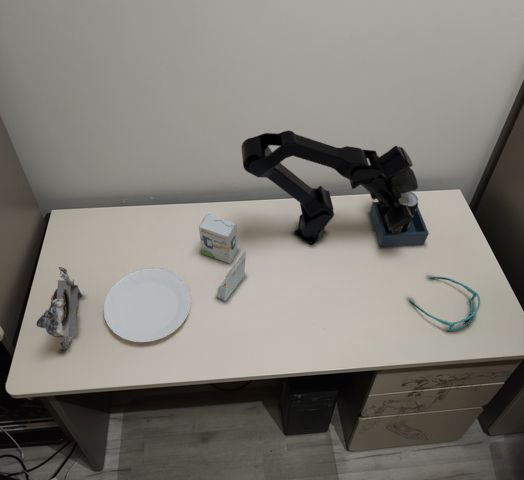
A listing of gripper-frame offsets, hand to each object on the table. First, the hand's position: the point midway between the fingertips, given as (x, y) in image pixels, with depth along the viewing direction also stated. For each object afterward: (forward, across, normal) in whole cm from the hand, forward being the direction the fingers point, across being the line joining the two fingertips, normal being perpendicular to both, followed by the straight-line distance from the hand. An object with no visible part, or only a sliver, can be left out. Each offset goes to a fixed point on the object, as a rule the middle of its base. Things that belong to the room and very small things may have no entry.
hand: (406, 211), depth 134 cm
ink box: (-31, -5, +42) cm, 53 cm away
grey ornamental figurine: (-56, -24, +68) cm, 92 cm away
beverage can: (+4, 0, +6) cm, 7 cm away
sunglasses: (+8, -26, +2) cm, 27 cm away
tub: (+4, 0, +6) cm, 7 cm away
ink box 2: (-29, -16, +40) cm, 52 cm away
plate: (-43, -21, +55) cm, 73 cm away
